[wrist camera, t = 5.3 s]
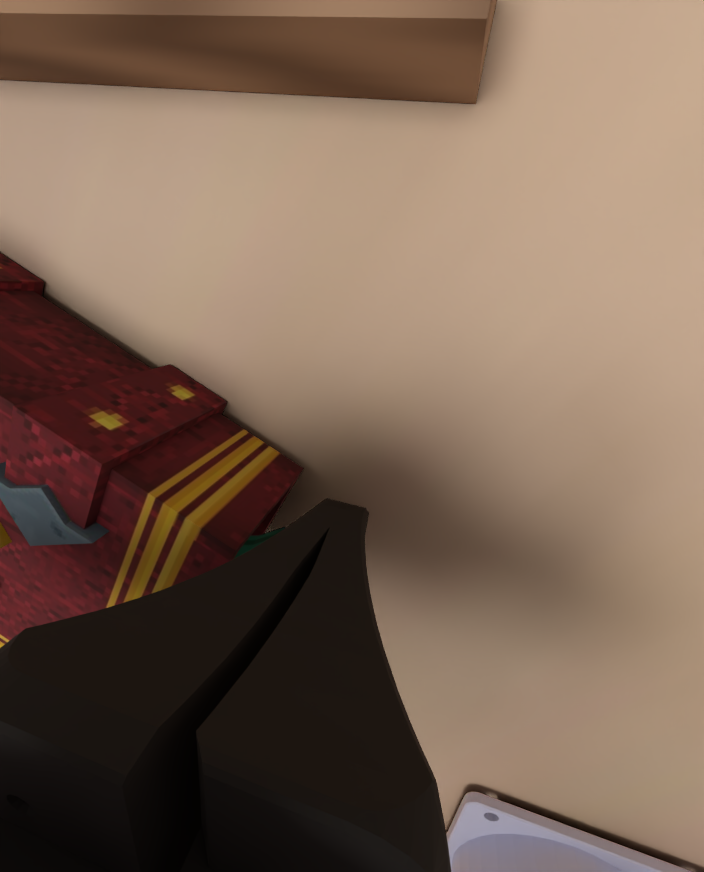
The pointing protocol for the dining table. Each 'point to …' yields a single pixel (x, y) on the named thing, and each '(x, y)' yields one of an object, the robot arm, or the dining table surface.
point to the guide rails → (254, 45)
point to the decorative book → (112, 469)
